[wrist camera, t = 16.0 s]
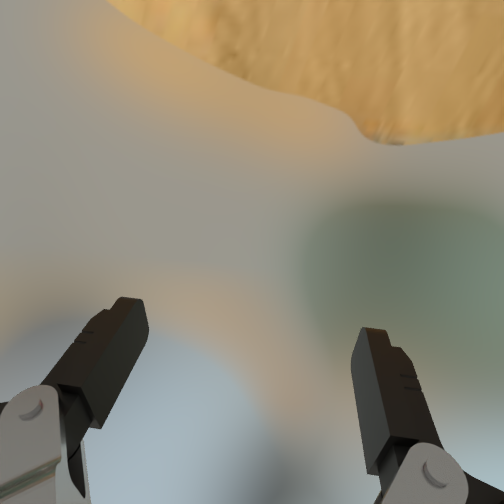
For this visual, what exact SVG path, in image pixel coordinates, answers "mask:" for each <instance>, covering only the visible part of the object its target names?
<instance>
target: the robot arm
mask: <svg viewBox="0 0 504 504" xmlns="http://www.w3.org/2000/svg"><path fill="white" fill-rule="evenodd" d="M148 334H149V327H148V321H147V317H146V312H145V307H144V303H143V301H142V300H141V299H135V298H127V297H120V298H118V299H117V301H116V302H115V304H114V305H113V306H112V308H111V309H110V310H107V309H104V310H102V311H101V312H100V313H98V314H97V315H96V316H94V317H93V318H91V319H90V321H89V322H88V323H87V325H86V326H85V327H84V328H83V330H82V333H80V334H79V335H78V336H77V338H76V339H75V340H74V343H72V344H71V345H70V347H69V348H68V349H67V351H66V352H65V353H64V355H63V356H62V357H61V359H60V360H59V361H58V362H57V364H56V365H55V366H54V368H53V369H52V370H51V371H50V373H49V374H48V375H47V377H46V378H45V379H44V380H43V381H42V383H41V384H40V385H38V386H33V387H30V388H28V389H26V390H24V391H22V392H20V393H19V394H17V395H16V396H15V397H13V398H12V399H11V400H10V401H9V402H4V403H0V504H91V500H90V492H89V483H88V474H87V466H86V458H85V448H84V441H83V437H84V435H85V433H86V432H87V430H88V428H89V427H90V428H96V429H101V428H102V426H103V424H104V423H105V420H106V419H107V417H108V415H109V413H110V411H111V409H112V407H113V405H114V403H115V402H116V399H117V398H118V396H119V394H120V392H121V389H122V388H123V386H124V384H125V382H126V380H127V378H128V377H129V374H130V372H131V371H132V369H133V367H134V365H135V363H136V361H137V359H138V357H139V355H140V354H141V351H142V350H143V348H144V346H145V344H146V342H147V338H148ZM351 373H352V380H353V386H354V393H355V399H356V406H357V412H358V418H359V425H360V431H361V437H362V443H363V450H364V457H365V463H366V469H367V474H371V475H377V476H379V479H380V484H381V491H380V493H379V495H378V496H377V498H376V500H375V502H374V504H504V492H503V491H501V490H499V489H497V488H495V487H493V486H490V485H488V484H487V483H484V482H482V481H480V480H478V479H476V478H474V477H472V476H471V475H469V474H467V473H466V472H465V471H463V470H462V469H461V467H460V466H459V464H458V463H457V462H456V461H455V459H454V458H453V457H452V456H451V455H450V454H448V453H447V452H446V451H445V450H444V448H443V446H442V444H441V442H440V440H439V437H438V434H437V431H436V428H435V425H434V422H433V420H432V417H431V414H430V411H429V409H428V406H427V403H426V400H425V397H424V394H423V393H422V391H421V386H420V383H419V380H418V379H417V375H416V372H415V369H414V366H413V363H412V361H411V360H410V358H409V357H408V356H407V355H406V353H405V352H404V351H403V350H402V348H400V347H392V346H391V344H390V340H389V337H388V334H387V332H386V330H381V329H374V328H365V327H362V329H361V331H360V333H359V336H358V340H357V342H356V345H355V348H354V350H353V354H352V358H351Z"/></svg>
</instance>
